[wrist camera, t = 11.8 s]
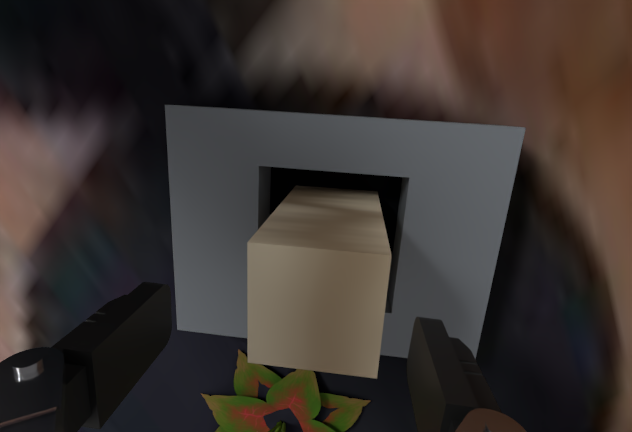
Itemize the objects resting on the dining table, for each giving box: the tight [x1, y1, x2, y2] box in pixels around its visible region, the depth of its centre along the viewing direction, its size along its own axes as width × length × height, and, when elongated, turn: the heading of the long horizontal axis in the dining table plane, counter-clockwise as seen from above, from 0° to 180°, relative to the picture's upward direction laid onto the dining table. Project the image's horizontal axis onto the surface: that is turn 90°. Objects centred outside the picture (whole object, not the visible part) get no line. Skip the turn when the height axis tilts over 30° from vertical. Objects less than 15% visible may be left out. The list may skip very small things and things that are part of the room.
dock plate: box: [165, 105, 526, 359], centre depth 19 cm, size 16×12×2 cm
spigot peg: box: [247, 185, 392, 379], centre depth 16 cm, size 4×4×9 cm
